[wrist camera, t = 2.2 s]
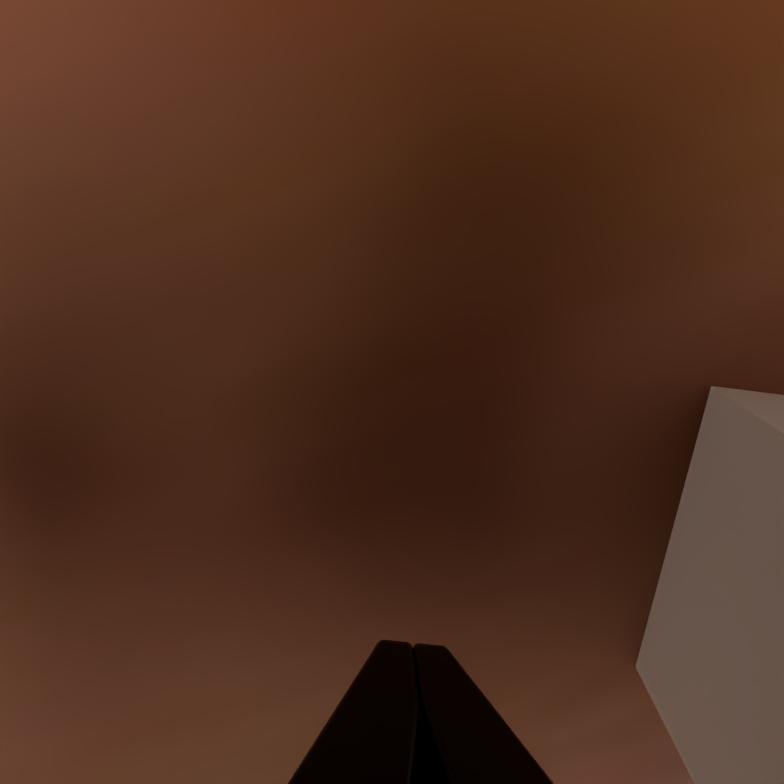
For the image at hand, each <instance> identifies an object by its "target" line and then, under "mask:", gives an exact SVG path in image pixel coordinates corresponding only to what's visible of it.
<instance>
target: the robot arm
mask: <svg viewBox="0 0 784 784" xmlns="http://www.w3.org/2000/svg"><path fill="white" fill-rule="evenodd" d="M288 784H554V783H553V782H552V781H551V779H550V778H549V777H548V776H547V774H546V773H545V772H544V770H543V769H542V768H541V767H540V765H539V764H538V763H537V762H536V760H535V759H534V758H533V756H532V755H531V754H530V753H529V751H528V750H527V749H526V748H525V746H524V745H523V744H522V743H521V741H520V740H519V739H518V737H517V736H516V735H515V734H514V732H513V731H512V730H511V729H510V727H509V726H508V725H507V723H506V722H505V721H504V720H503V718H502V717H501V716H500V715H499V713H498V712H497V711H496V709H495V708H494V707H493V706H492V704H491V703H490V702H489V701H488V699H487V698H486V697H485V696H484V694H483V693H482V692H481V690H480V689H479V688H478V687H477V685H476V684H475V683H474V682H473V680H472V679H471V678H470V676H469V675H468V674H467V673H466V671H465V670H464V669H463V668H462V666H461V665H460V664H459V663H458V661H457V660H456V659H455V657H454V656H453V655H452V654H451V652H450V651H449V650H448V649H447V648H446V647H444V646H440V645H430V644H420V643H417V644H415V645H414V646H413V648H412V646H411V644H410V643H408V642H401V641H392V640H381V641H379V642H378V643H377V645H376V646H375V648H374V649H373V651H372V653H371V654H370V656H369V657H368V659H367V660H366V662H365V664H364V665H363V667H362V668H361V670H360V671H359V673H358V674H357V676H356V678H355V679H354V681H353V682H352V684H351V685H350V687H349V689H348V690H347V692H346V693H345V695H344V696H343V698H342V700H341V701H340V703H339V704H338V706H337V707H336V709H335V711H334V712H333V714H332V715H331V717H330V718H329V720H328V722H327V723H326V725H325V726H324V728H323V729H322V731H321V733H320V734H319V736H318V737H317V739H316V740H315V742H314V743H313V745H312V747H311V748H310V750H309V751H308V753H307V754H306V756H305V758H304V759H303V761H302V762H301V764H300V765H299V767H298V769H297V770H296V772H295V773H294V775H293V776H292V778H291V780H290V781H289V783H288Z"/></svg>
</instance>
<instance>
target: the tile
mask: <svg viewBox="0 0 784 784" xmlns="http://www.w3.org/2000/svg"><path fill="white" fill-rule="evenodd" d="M635 667H636V669H637V671H638V673H639V675H640V677H641V679H642V681H643V683H644V685H645V687H646V689H647V691H648V693H649V695H650V697H651V699H652V701H653V703H654V705H655V707H656V709H657V711H658V713H659V715H660V717H661V719H662V721H663V723H664V725H665V727H666V729H667V731H668V733H669V735H670V737H671V739H672V741H673V743H674V745H675V746H676V748H677V750H678V752H679V754H680V756H681V758H682V760H683V762H684V764H685V766H686V768H687V770H688V772H689V774H690V776H691V778H692V780H693V782H694V784H784V395H780V394H772V393H764V392H756V391H747V390H739V389H731V388H723V387H715V386H711V388H710V392H709V396H708V399H707V403H706V407H705V411H704V414H703V418H702V422H701V425H700V429H699V433H698V437H697V440H696V444H695V448H694V451H693V455H692V459H691V462H690V466H689V470H688V474H687V477H686V481H685V485H684V488H683V492H682V496H681V500H680V503H679V507H678V511H677V514H676V518H675V522H674V526H673V529H672V533H671V537H670V540H669V544H668V548H667V551H666V555H665V559H664V563H663V566H662V570H661V574H660V577H659V581H658V585H657V589H656V592H655V596H654V600H653V603H652V607H651V611H650V614H649V618H648V622H647V626H646V629H645V633H644V637H643V640H642V644H641V648H640V652H639V655H638V659H637V663H636V666H635Z"/></svg>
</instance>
